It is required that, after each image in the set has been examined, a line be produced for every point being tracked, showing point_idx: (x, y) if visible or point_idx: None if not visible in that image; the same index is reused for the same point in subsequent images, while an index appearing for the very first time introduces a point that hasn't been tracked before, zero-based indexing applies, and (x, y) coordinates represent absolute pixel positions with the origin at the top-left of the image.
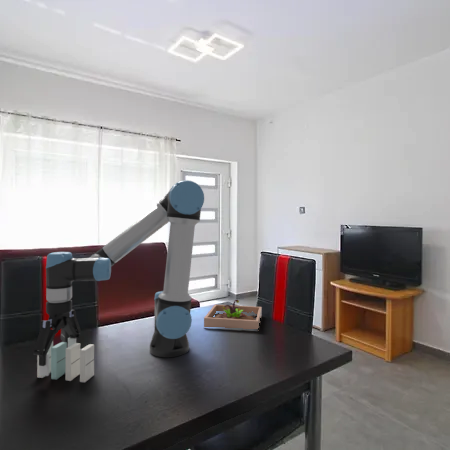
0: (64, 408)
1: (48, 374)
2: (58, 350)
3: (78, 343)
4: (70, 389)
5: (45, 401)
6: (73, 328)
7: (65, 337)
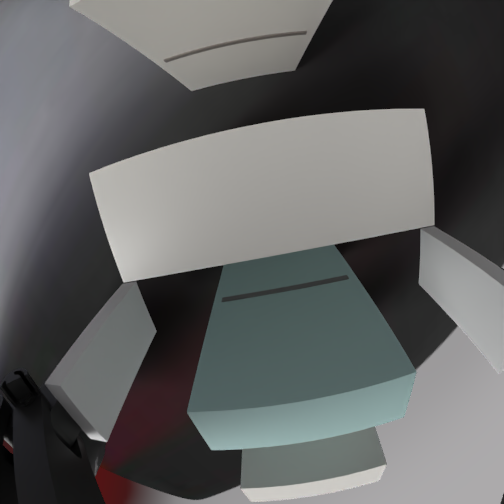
0: (474, 18)
1: (429, 229)
2: (361, 349)
3: (108, 204)
4: (381, 65)
5: (482, 116)
6: (21, 501)
7: (94, 452)
